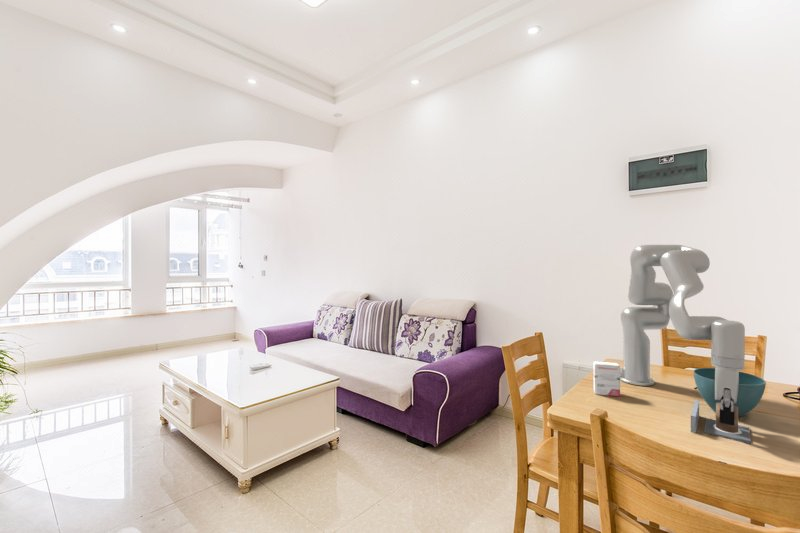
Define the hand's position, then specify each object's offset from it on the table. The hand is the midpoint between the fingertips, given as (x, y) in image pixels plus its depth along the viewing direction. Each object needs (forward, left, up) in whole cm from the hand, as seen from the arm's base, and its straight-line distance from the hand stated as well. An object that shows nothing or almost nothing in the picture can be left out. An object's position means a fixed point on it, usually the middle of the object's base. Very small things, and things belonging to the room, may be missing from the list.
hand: (727, 418), depth 110 cm
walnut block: (0, 0, -3) cm, 3 cm away
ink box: (-35, +11, -4) cm, 37 cm away
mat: (0, 0, -4) cm, 4 cm away
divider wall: (-7, 0, -4) cm, 8 cm away
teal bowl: (0, +19, -4) cm, 19 cm away
